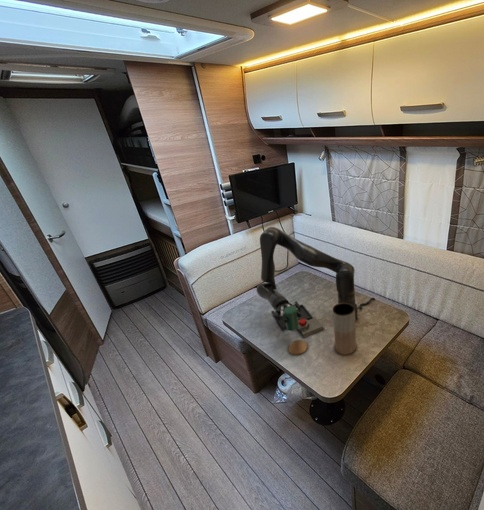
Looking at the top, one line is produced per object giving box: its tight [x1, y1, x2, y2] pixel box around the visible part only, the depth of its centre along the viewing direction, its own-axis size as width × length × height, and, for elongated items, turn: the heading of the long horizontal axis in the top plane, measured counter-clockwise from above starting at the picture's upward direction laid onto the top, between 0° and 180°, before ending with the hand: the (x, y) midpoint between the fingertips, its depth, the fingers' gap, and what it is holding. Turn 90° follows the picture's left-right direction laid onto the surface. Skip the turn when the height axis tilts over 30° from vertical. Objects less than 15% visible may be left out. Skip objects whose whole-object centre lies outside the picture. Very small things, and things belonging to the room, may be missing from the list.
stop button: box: [299, 319, 306, 325], centre depth 148 cm, size 4×4×2 cm
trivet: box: [288, 340, 308, 356], centre depth 137 cm, size 9×9×1 cm
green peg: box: [284, 306, 299, 332], centre depth 132 cm, size 6×6×10 cm
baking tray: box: [277, 304, 313, 331], centre depth 159 cm, size 17×14×2 cm
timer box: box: [297, 317, 324, 338], centre depth 149 cm, size 12×10×4 cm
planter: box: [332, 303, 357, 355], centre depth 131 cm, size 10×10×23 cm
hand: (293, 318), depth 130 cm, fingers closed on green peg, 6 cm apart
